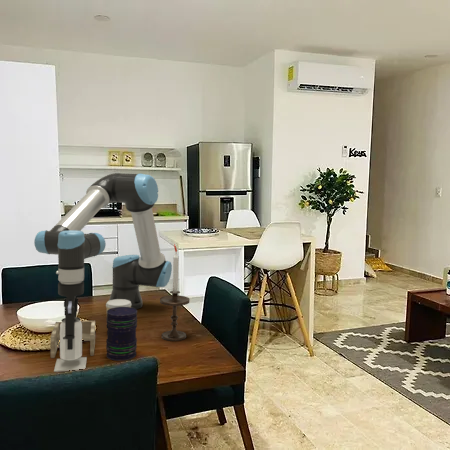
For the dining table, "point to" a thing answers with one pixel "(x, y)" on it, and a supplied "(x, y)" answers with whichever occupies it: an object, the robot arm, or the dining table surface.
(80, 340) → the can
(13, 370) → the dining table surface
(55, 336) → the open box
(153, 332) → the dining table surface
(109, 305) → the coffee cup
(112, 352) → the storage jar
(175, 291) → the candlestick
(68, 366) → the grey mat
